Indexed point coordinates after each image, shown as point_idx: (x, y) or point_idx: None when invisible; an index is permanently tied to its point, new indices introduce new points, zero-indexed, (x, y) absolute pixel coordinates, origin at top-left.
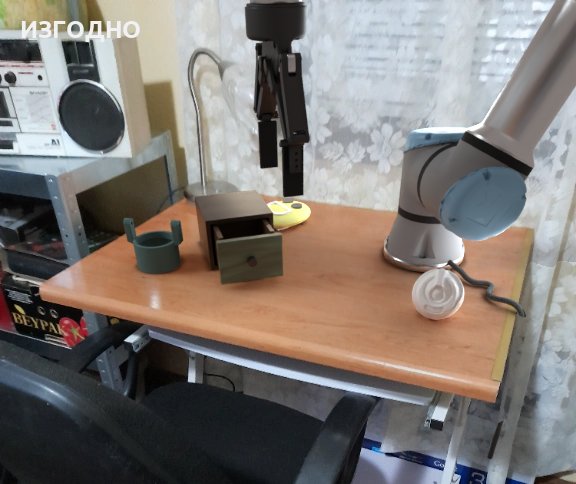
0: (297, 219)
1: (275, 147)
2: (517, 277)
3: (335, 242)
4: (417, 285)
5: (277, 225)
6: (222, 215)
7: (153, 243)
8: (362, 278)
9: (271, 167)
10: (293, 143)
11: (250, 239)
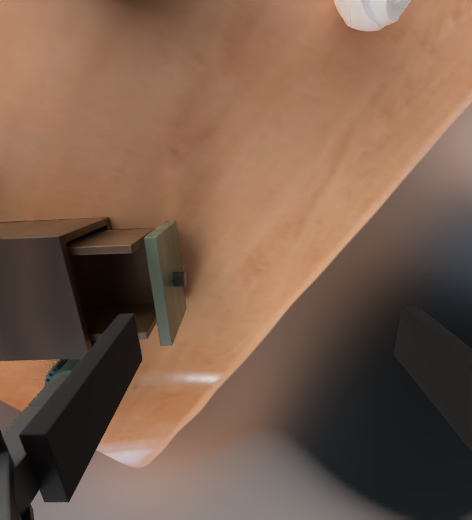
0: None
1: (109, 357)
2: None
3: (36, 80)
4: (368, 5)
5: None
6: (65, 329)
7: None
8: (198, 80)
9: (136, 332)
10: None
11: (165, 293)
